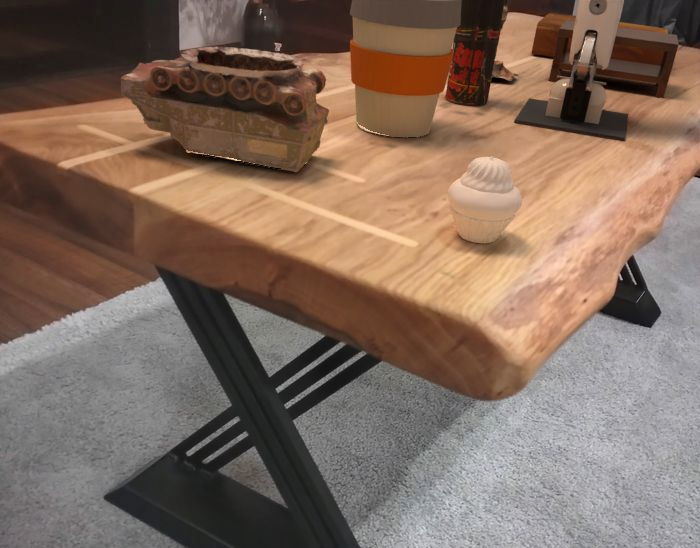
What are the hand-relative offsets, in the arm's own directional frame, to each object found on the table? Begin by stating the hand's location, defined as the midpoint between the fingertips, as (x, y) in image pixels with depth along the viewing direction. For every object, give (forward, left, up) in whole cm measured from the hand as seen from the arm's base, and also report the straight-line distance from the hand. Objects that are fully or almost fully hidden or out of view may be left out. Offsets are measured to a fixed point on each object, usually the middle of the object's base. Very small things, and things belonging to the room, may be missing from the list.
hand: (574, 113), depth 104 cm
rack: (-3, -30, -1) cm, 30 cm away
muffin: (+4, +48, -1) cm, 48 cm away
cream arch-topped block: (0, 0, 0) cm, 0 cm away
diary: (0, -54, -1) cm, 54 cm away
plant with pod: (+16, -19, -1) cm, 25 cm away
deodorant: (+15, -1, -1) cm, 15 cm away
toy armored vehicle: (+32, +41, -1) cm, 52 cm away
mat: (0, 0, -1) cm, 1 cm away
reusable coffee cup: (+20, +19, -1) cm, 28 cm away
